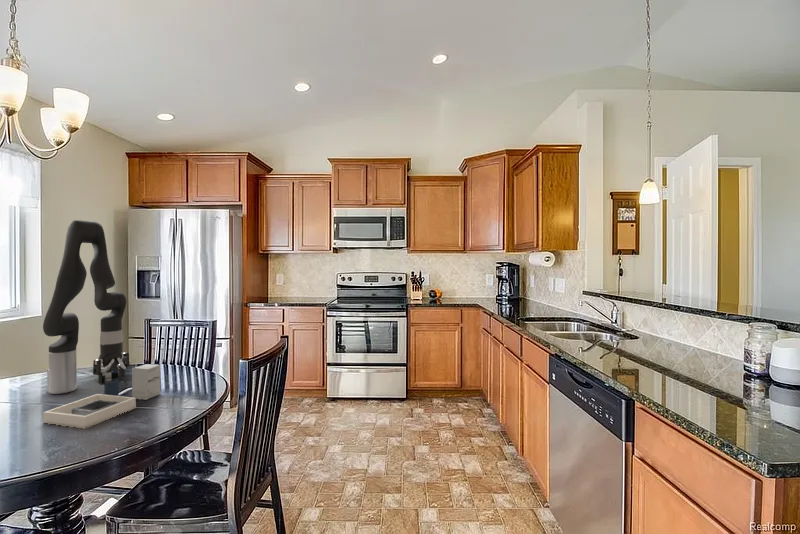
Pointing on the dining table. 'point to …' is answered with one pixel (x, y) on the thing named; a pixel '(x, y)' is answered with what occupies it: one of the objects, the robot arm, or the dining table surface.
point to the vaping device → (112, 384)
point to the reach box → (66, 417)
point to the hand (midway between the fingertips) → (112, 381)
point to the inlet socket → (92, 407)
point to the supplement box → (145, 381)
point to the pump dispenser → (108, 373)
